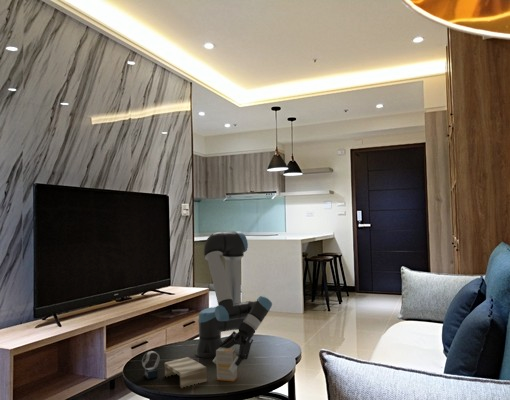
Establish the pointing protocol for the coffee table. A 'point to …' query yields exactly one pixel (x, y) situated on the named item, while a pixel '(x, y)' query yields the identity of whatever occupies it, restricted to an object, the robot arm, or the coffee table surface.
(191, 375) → the grooved beige block
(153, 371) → the watch
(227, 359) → the supplement box
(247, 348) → the robot arm
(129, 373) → the coffee table surface
